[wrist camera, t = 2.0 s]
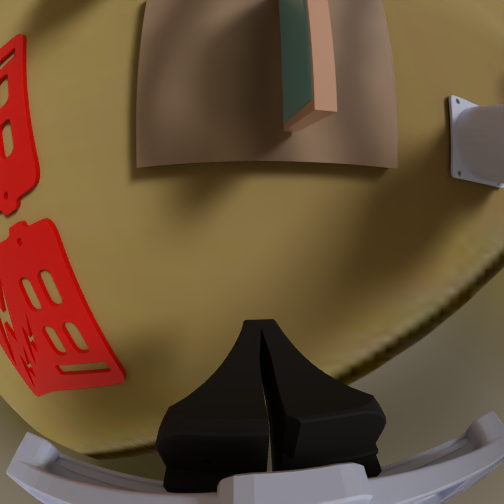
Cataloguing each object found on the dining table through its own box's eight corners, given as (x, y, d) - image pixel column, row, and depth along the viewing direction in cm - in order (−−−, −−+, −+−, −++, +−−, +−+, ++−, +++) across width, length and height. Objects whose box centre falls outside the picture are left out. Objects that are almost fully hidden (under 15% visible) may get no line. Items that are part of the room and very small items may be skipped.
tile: (290, -9, 13) (312, -72, 6) (297, 132, 17) (337, 111, 9) (277, -10, 13) (293, -75, 5) (282, 131, 17) (312, 109, 9)
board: (374, 3, 15) (380, -4, 13) (388, 168, 20) (397, 168, 18) (153, -5, 14) (149, -13, 13) (143, 167, 19) (136, 167, 18)
